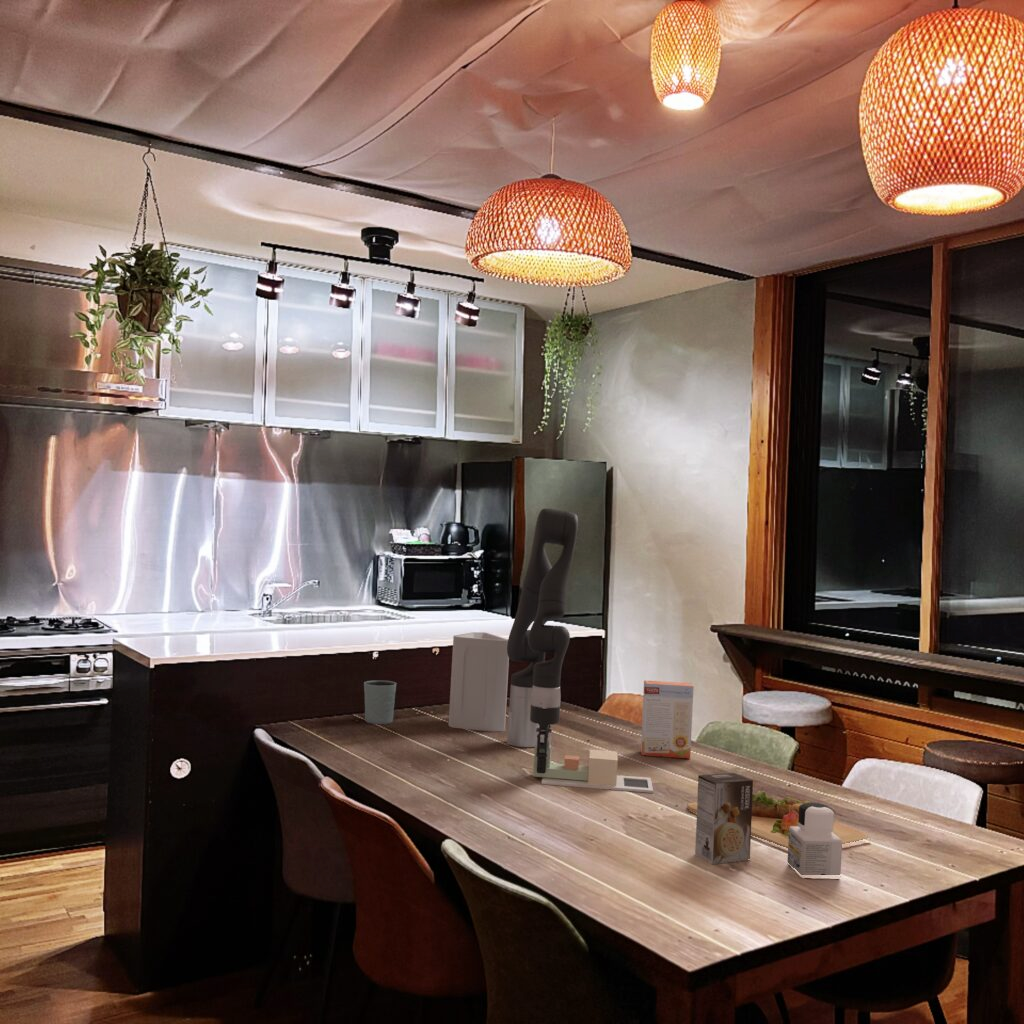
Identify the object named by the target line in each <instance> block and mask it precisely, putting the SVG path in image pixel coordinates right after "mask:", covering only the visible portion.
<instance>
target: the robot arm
mask: <svg viewBox="0 0 1024 1024" xmlns="http://www.w3.org/2000/svg"><path fill="white" fill-rule="evenodd" d="M578 531H579V517H578V515H577V514H576V513H574V512H572V511H571V512H570V511H567V510H566V511H565V510H561V509H553V508H542V509H541V510H540V511H539V514H538V516H537V519H536V524H535V528H534V534H533V539H532V546H531V553H530V557H529V560H528V565H527V569H526V572H525V576H524V579H523V584H522V588H521V593H520V596H519V597H520V598H519V603H518V607H517V610H516V614H515V617H514V621H513V624H512V627H511V629H510V631H509V632H510V633H509V636H508V638H507V639H508V644H507V654H508V657H509V660H511V661H512V662H513V661H514V662H519V663H520V662H521V663H525V662H527V663H528V662H529V665H528V666H527V667H525V668H523V669H522V670H520V671H517V672H514V673H512V674H511V677H510V691H509V707H508V708H509V709H508V714H507V731H506V733H507V734H506V745H507V746H513V747H518V748H535V745H536V748H537V754H536V756H537V773H545V772H546V759H547V750H548V749H549V747H550V744H551V742H552V741H551V740H552V735H553V729H552V728H551V727H552V725H557V724H559V723H560V716H561V715H560V713H561V697H562V696H561V675H562V666H563V663H564V659H565V655H566V653H567V650H568V647H569V644H570V642H571V641H570V639H571V636H570V635H571V634H570V632H569V630H568V629H567V627H565V626H563V625H550V624H549V625H548V624H546V623H548V622H549V621H553V620H554V621H555V620H558V619H562V618H563V617H564V615H565V611H566V604H567V603H566V602H567V590H568V589H567V588H568V583H569V579H570V573H571V569H572V565H573V558H574V554H575V549H576V543H577V538H578ZM545 544H552V545H560V546H562V551H561V554H560V555H559V558H558V559H557V560H556V562H555V564H554V565H553V566H552V564H551V563H550V561H549V557H548V555H547V552H546V547H545ZM529 628H530V629H529ZM546 654H554V656H553V658H551V659H549V660H545V659H546ZM540 749H545V753H543V752H539V750H540Z"/></svg>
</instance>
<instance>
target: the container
mask: <svg viewBox="0 0 1024 1024" xmlns="http://www.w3.org/2000/svg"><path fill="white" fill-rule="evenodd" d="M834 822H835V811H834V810H833V808H832V807H830V806H828V805H827V804H823V803H819V802H811V803H805V804H802V805H800V806H799V818H798V826H799V827H798V826H790V827H789V842H788V852H787V862H788V863H789V864H790V865H791V866H792V867H793V868H795V869H796V870H797V871H798V872H799V873H800V874H801V875H840V874H841V873H842V872H841V871H842V854H843V851H842V850H843V849H842V840H841V839H840V838H839V837H837V836H836V835H835V834H834V833H832V832H833V827H834ZM787 862H786V863H787ZM841 875H842V874H841Z"/></svg>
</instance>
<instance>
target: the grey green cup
mask: <svg viewBox="0 0 1024 1024" xmlns="http://www.w3.org/2000/svg"><path fill="white" fill-rule="evenodd" d="M363 690H364V691H363V692H364V722H366V723H368V724H374V725H387V724H391V723H393V722H394V713H395V712H394V708H395V699H396V691H397V682H395V681H391V680H384V679H383V680H379V679H378V680H374V679H373V680H367V681H364V682H363Z"/></svg>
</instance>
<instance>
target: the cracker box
mask: <svg viewBox="0 0 1024 1024" xmlns="http://www.w3.org/2000/svg"><path fill="white" fill-rule="evenodd" d="M642 695H643V696H642V697H643V699H642V713H641V714H642V715H641V716H642V718H641V737H640V738H641V739H640V741H641V742H640V753H641V756H644V755H646V756H647V757H660V756H662V758H663V757H664V758H673V757H674V758H677V759H685V758H686V759H687V760H688V759H691V751H692V750H691V748H692V728H693V709H694V708H693V705H694V704H693V702H694V685H693V684H692V683H690V682H677V681H676V682H674V681H664V680H662V681H661V680H643V693H642Z"/></svg>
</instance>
